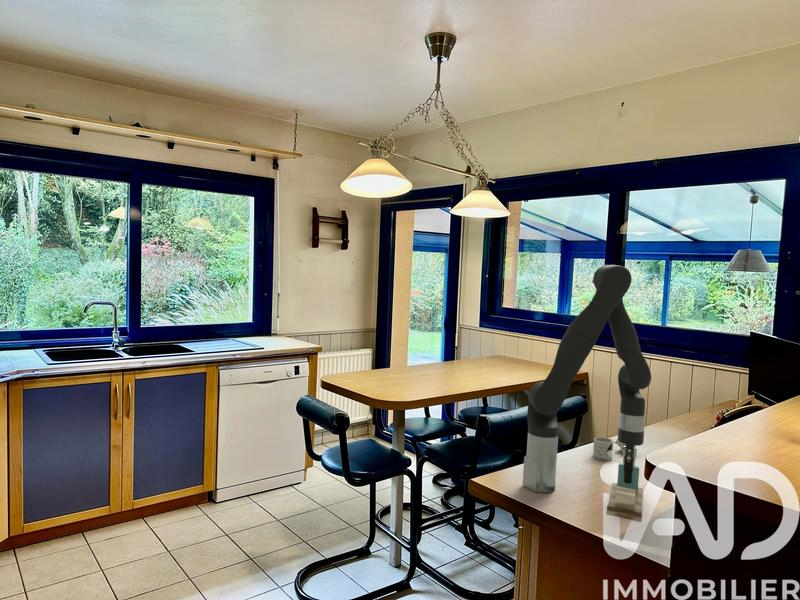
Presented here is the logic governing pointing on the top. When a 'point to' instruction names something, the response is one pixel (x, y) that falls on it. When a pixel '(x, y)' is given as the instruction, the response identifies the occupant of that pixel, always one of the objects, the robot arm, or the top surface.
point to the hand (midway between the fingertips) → (627, 481)
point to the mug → (603, 448)
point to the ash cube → (625, 498)
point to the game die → (621, 444)
